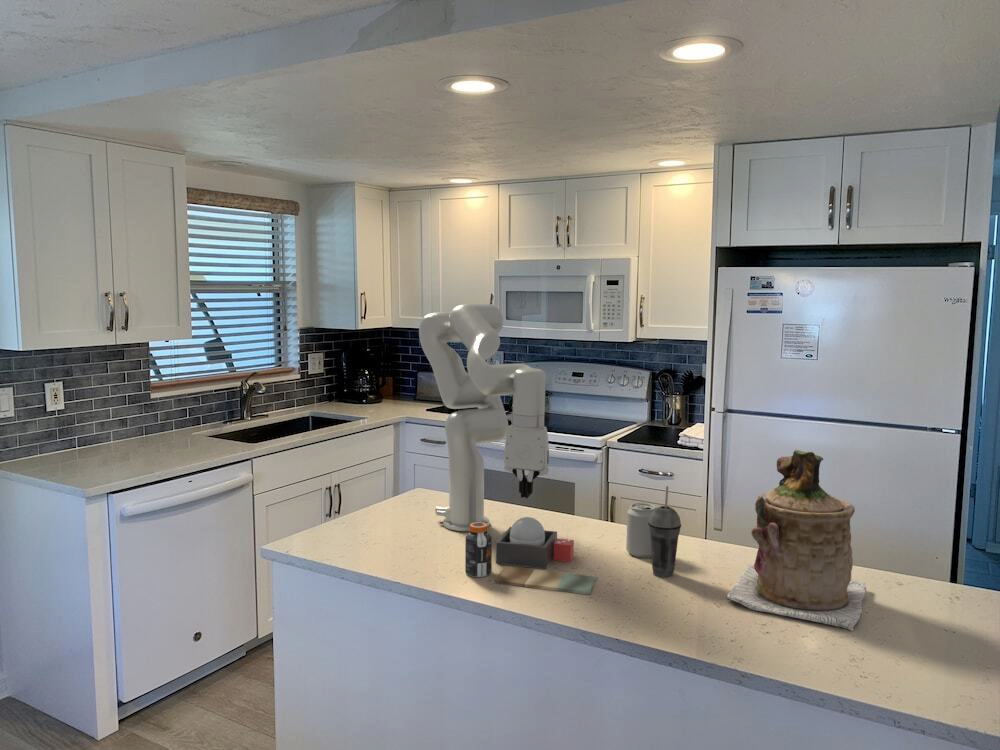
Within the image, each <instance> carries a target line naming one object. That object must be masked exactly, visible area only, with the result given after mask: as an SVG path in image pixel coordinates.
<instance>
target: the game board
mask: <svg viewBox="0 0 1000 750" xmlns="http://www.w3.org/2000/svg"><path fill="white" fill-rule="evenodd" d="M596 580H597V576H596V575H588V574H581V573H579V574H578V573H571V572H563V571H553V570H546V569H539V568H536V569H535V568H530V567H529V568H527V567H522V566H513V565H511V566H510V565H504V567H503V568H502V569H501V571H500V572H499V573H498V574H497V575H496V576H495V578H494V579H493V583H494V584H501V585H509V586H517V587H523V588H524V587H525V588H533V589H541V590H542V589H543V590H548V591H558V592H564V593H565V592H567V593H574V594H581V595H590V593H591V591H592V589H593V588H594V584H595V582H596Z"/></svg>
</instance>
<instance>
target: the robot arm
mask: <svg viewBox="0 0 1000 750" xmlns="http://www.w3.org/2000/svg"><path fill="white" fill-rule="evenodd" d="M503 327H504V317H503V313H502V311H501V310H500V309H499V307H497V306H496V305H494V304H491V303H481V304H480V303H465V304H461V305H460V304H459V305H458V306H455V307H454V308H453V309H452V310H451V311H437V312H432V313H427V314H426V315H424V316H423V317H422V319H421V320H420V322H419V326H418V336H419V342H420V345H421V348H422V351H423V353H424V355H425V356H426V359H427V361H429V364H430V366H431V368H432V371H433V374H434V379H435V382H436V385H437V388H438V391H439V395H440V397H441V400H442V403H443V405H444V406H445V407H446V408H448V409H453V410H457V409H458V410H457V411H454V412H452V413H450V414H449V415H448V416H447V418H446V420H445V422H444V427H445V428H444V430H445V431H444V432H445V436H446V441H447V447H448V448H447V449H448V506H446V507H443V506H436V507H435V510H434V511H435V514H436V516H437V517H438V516H439V517H440V516H441V517H444V519H443V521H442V522H443V526H444V527H445V528H446V529H448V530H451V531H456V532H470V524H471V523H475V522H482V523H486V524H487V525H488V527H489V525H490V523H491V522H490V519H489V518H488V517H487V516H485V461H484V457H483V455H482V453H481V452H480V451H479V449H478V448H477V445H483V444H491V443H496V442H497V443H498V442H501V441H504V439H505V444H504V455H503V464H504V468H503V469H504V470H505V471H507V472H509V473H512V474H513V475H514V476H515V477H516V478H517V480H518V492H519V494H520V498H524V499H528V498H529V497H530V496H531V495H532V494H533V491H534V480H535V479H536V478H537V477H538V476H546V475H548V474H549V473H550V468H549V463H550V447H549V435H548V428H547V426H546V425H545V412H546V409H545V407H546V385H547V384H546V379H547V378H546V377H547V375H546V373H545V371H544V370H542V369H540V368H534V367H531V366H530V365H528V364H525V363H503V364H501V363H500V364H499V363H498V364H489V362H487V361H486V360H487V359H489V358H491V357H492V356H494V355H495V353H496V352H497V351H498V350H499V348H500V345H501V339H500V338H501V337H500V336H499V333H501V331H502V330H503ZM448 343H463V345H464V346H465V348H466V349H467V350H468V352H467V357H466V369H467V370H466V369H465V366H464V364H463V360H462V357H461V356H460V355H459V354H458V352H456V351H455V349H454V348H452V347H451V346H449V344H448ZM502 396H512V413H508V414H506V413H507V412H506V411H505V407H504V404H503V402H502V398H501V397H502ZM509 421H510V422H511V424H510V425H509ZM526 471H528V475H527V477H526Z"/></svg>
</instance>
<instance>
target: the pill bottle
mask: <svg viewBox="0 0 1000 750" xmlns="http://www.w3.org/2000/svg"><path fill="white" fill-rule="evenodd" d="M488 527H489V526H488V525H487V524H486V523H482V522H475V523H471V524H470V531H468V533H466V535H465V542H464V543H465V546H464V547H465V557H464V558H465V564H464V565H465V566H464V567H465V568H464V569H465V570H464V571H465V574H466V575H467V576H469V577H473V578H474V577H475V578H483V577H487V576H489V575H491V573H492V571H493V570H492V569H493V567H492V565H493V564H492V563H493V562H492V551H493V550H492V549H493V547H492V544H493V541H492V540H493V536H492V534H491V533H490V532H488V530H489V529H488Z"/></svg>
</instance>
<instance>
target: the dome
mask: <svg viewBox="0 0 1000 750" xmlns="http://www.w3.org/2000/svg"><path fill="white" fill-rule="evenodd" d="M510 527H511V530H510V543H518V544H527V545H537V546H544V545H545V531H544V530H545V528H544V526H543V524H542V523H541V522H540V521H539V520H537V518H534V517H531V516H526V517H525V516H524V517H520V518H518V519H517V520H516V521H515V522H513V524H512V526H510Z"/></svg>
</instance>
